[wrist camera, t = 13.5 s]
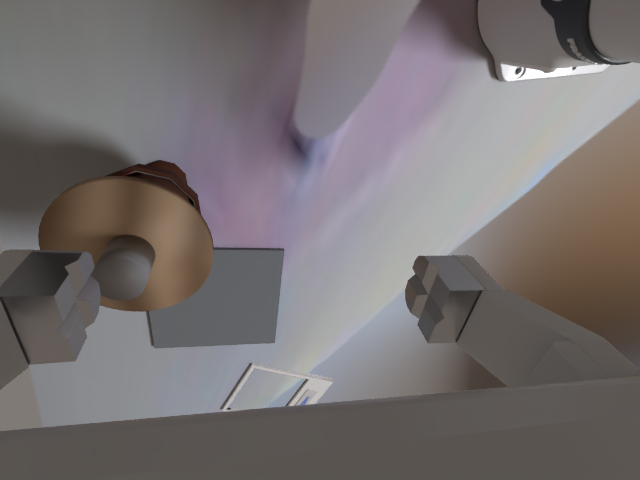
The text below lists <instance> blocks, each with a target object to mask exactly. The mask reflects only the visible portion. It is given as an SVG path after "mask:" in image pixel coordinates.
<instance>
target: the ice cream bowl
mask: <svg viewBox="0 0 640 480" xmlns="http://www.w3.org/2000/svg"><path fill="white" fill-rule="evenodd" d="M107 176H128V177H136V178H140V179H145V180H149V181H152V182H155V183H158V184H160V185H162V186H165V187H167V188H169V189H171V190H172V191H174V192H176V193H178V194H179V195H180V196H182V197H183V198H185V199H186V200H187V201H188V202H189V203H190V204H192V205H193V206H194V207H195V208H196V209H197V211H198V212H199V213H200V214H201V212H200V206H199V200H198V196H197V194H196V193H195V192H194V191H193V190H192V189H191V188H190V187H189V186H188V185H187V180H186V175H185V173H184V172H183V171H182V170H181V169H180V168H179V167H178V166H177V165H176V164H174V163H170V162H166V161H161V160H159V161H156V162H153V163H150V164H147V165H142V164H137V165H134V166H131V167H128V168H126V169H123V170H120V171H117V172H114V173H112V174H109V175H107Z"/></svg>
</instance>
